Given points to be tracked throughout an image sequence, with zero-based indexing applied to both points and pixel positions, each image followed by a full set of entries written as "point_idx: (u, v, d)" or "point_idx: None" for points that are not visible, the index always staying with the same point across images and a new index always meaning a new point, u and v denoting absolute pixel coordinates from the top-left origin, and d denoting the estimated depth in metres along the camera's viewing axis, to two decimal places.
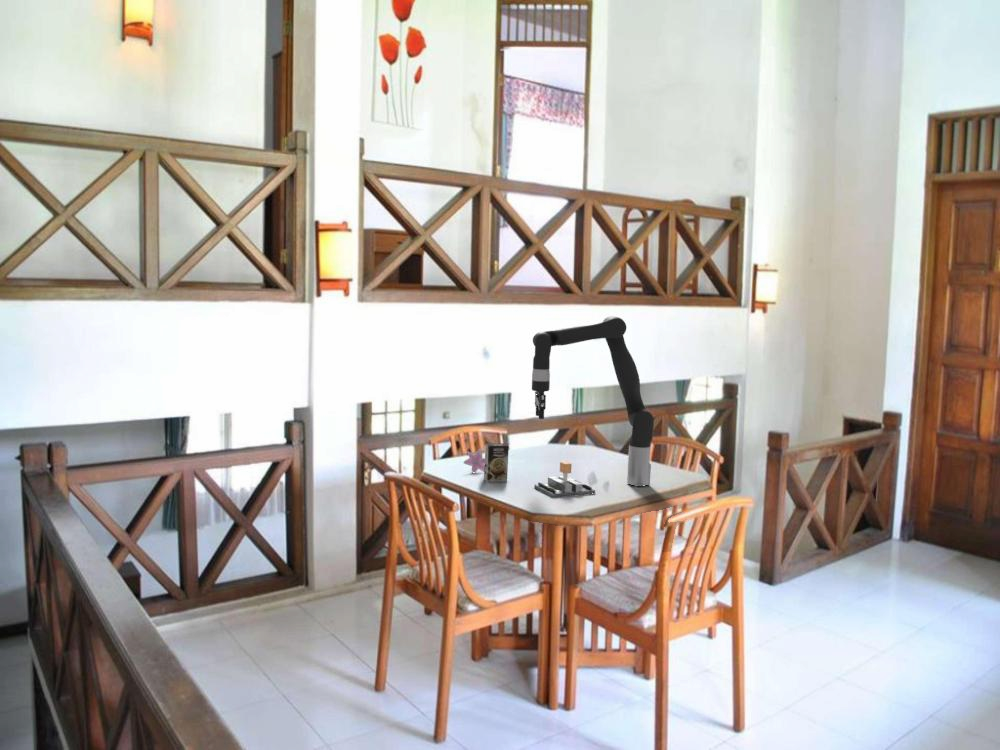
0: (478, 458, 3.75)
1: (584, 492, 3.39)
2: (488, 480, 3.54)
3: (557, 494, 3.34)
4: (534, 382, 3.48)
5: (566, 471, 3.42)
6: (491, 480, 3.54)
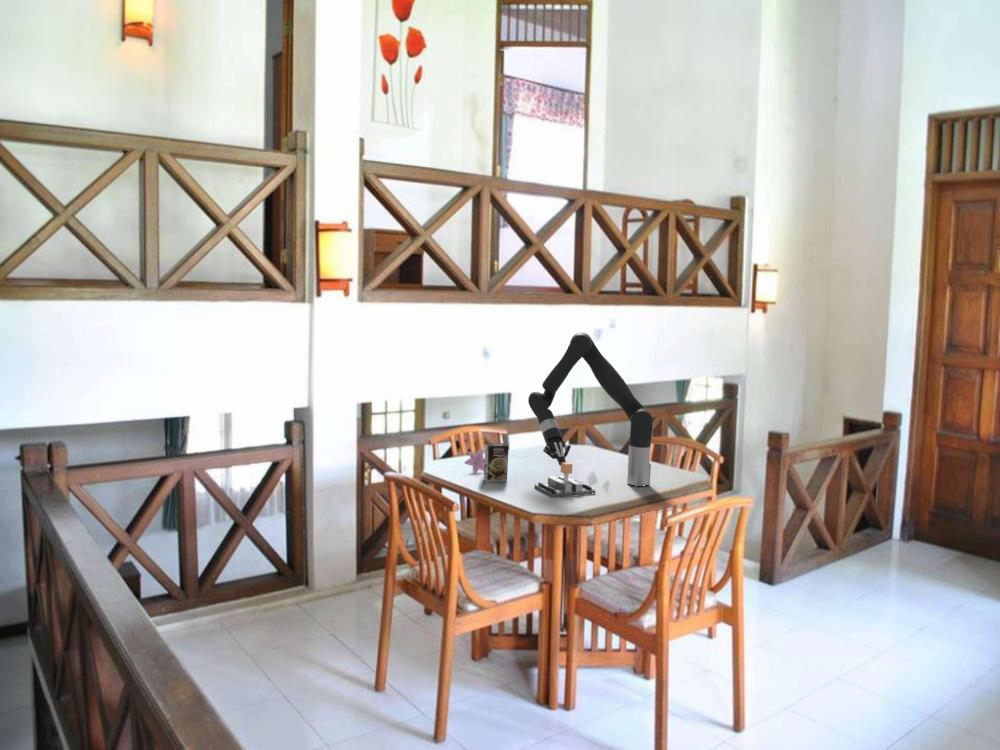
0: (479, 459, 3.75)
1: (584, 492, 3.39)
2: (488, 480, 3.54)
3: (557, 494, 3.34)
4: None
5: (567, 471, 3.41)
6: (491, 480, 3.54)
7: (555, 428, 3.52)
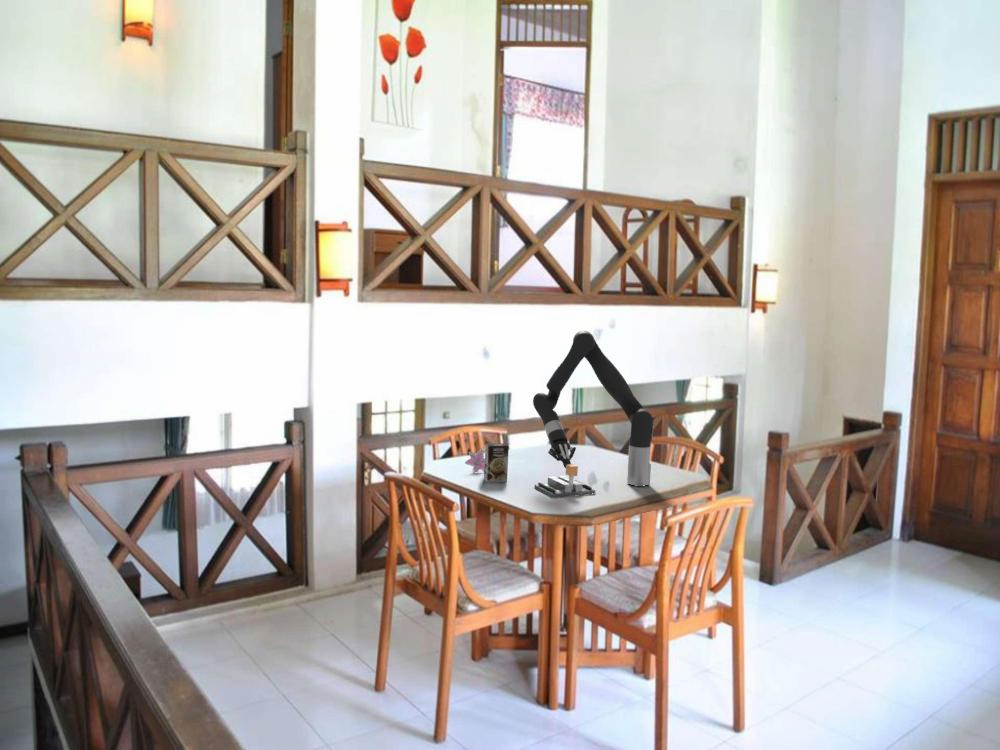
0: (480, 459, 3.75)
1: (584, 492, 3.39)
2: (488, 480, 3.54)
3: (557, 494, 3.34)
4: None
5: (572, 474, 3.37)
6: (491, 480, 3.54)
7: (560, 430, 3.48)
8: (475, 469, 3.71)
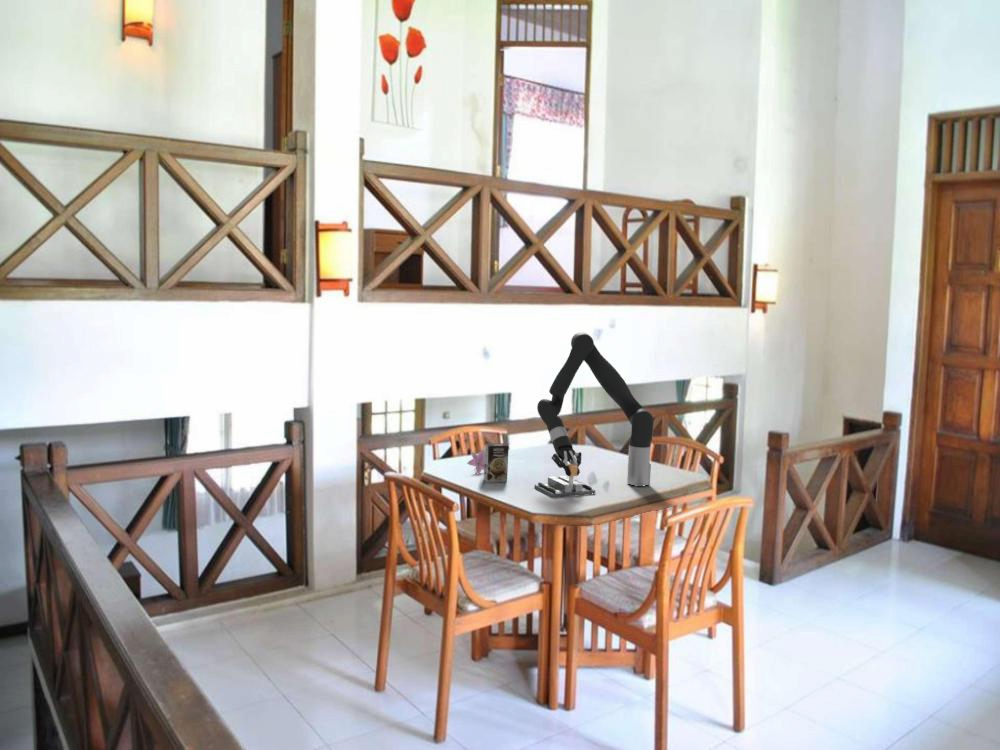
0: (482, 459, 3.74)
1: (584, 492, 3.39)
2: (488, 480, 3.54)
3: (557, 494, 3.34)
4: None
5: (572, 474, 3.37)
6: (491, 480, 3.54)
7: (565, 436, 3.44)
8: (477, 469, 3.70)
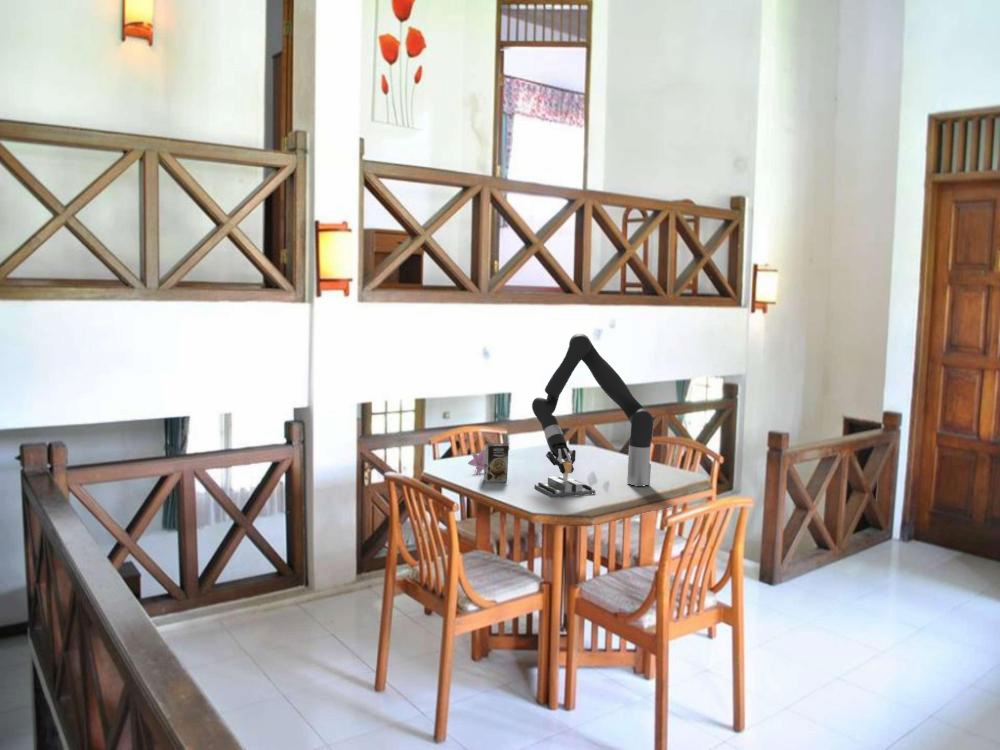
0: (482, 459, 3.74)
1: (584, 492, 3.39)
2: (488, 480, 3.54)
3: (557, 494, 3.34)
4: None
5: (566, 471, 3.41)
6: (491, 480, 3.54)
7: (559, 434, 3.48)
8: (478, 469, 3.70)
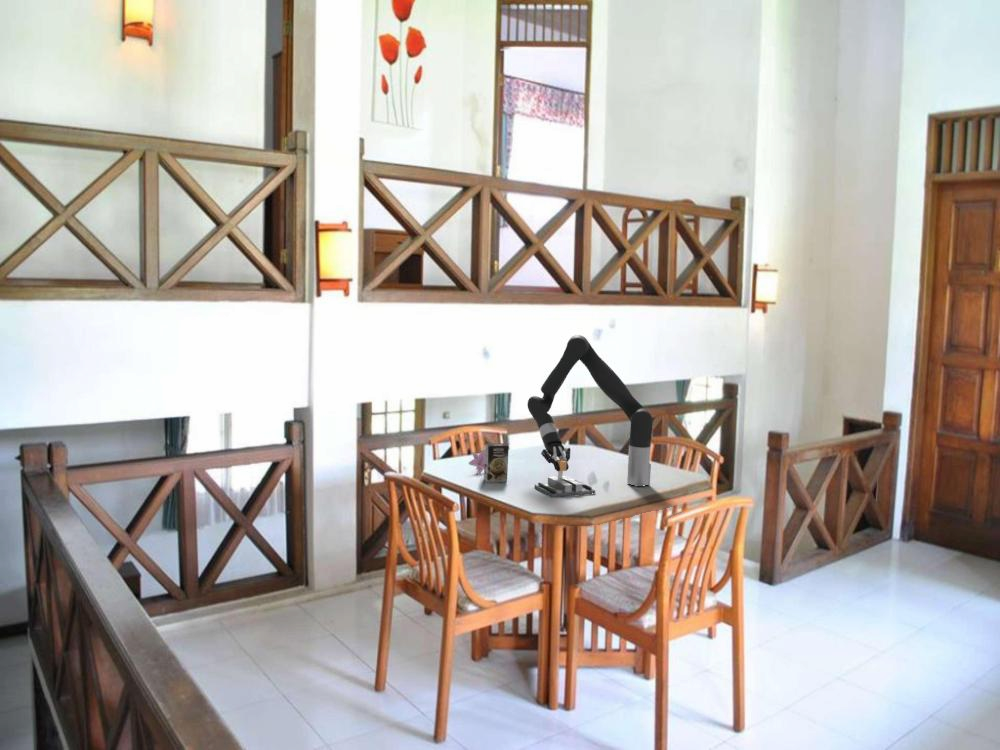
0: (483, 459, 3.74)
1: (584, 492, 3.39)
2: (488, 480, 3.54)
3: (557, 494, 3.34)
4: None
5: (561, 469, 3.45)
6: (491, 480, 3.54)
7: (554, 432, 3.52)
8: (479, 470, 3.70)
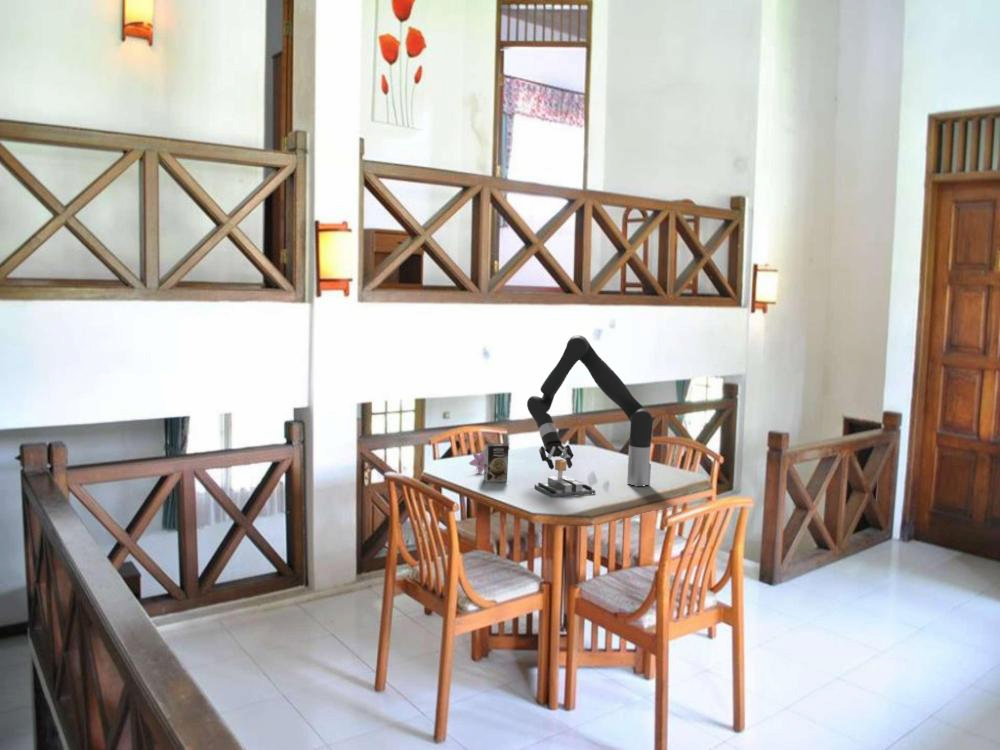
0: (483, 459, 3.74)
1: (584, 492, 3.39)
2: (488, 480, 3.54)
3: (557, 494, 3.34)
4: None
5: (561, 469, 3.45)
6: (491, 480, 3.54)
7: (554, 432, 3.53)
8: (479, 470, 3.70)
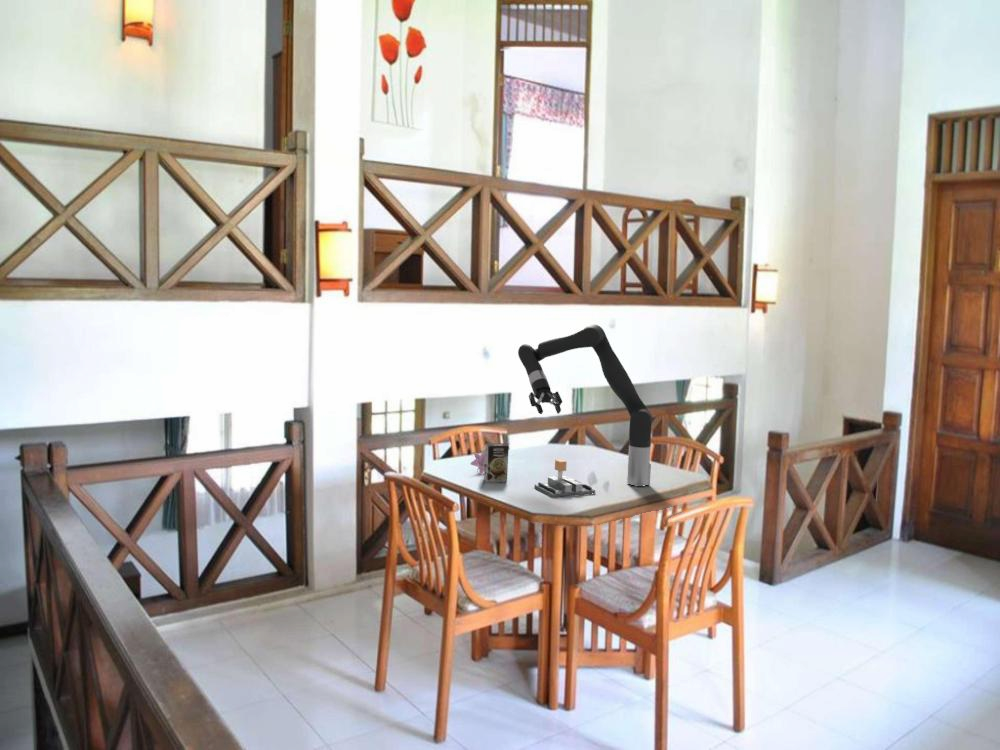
0: (484, 459, 3.74)
1: (584, 492, 3.39)
2: (488, 480, 3.54)
3: (557, 494, 3.34)
4: None
5: (561, 469, 3.45)
6: (491, 480, 3.54)
7: (543, 379, 3.61)
8: (480, 470, 3.70)
